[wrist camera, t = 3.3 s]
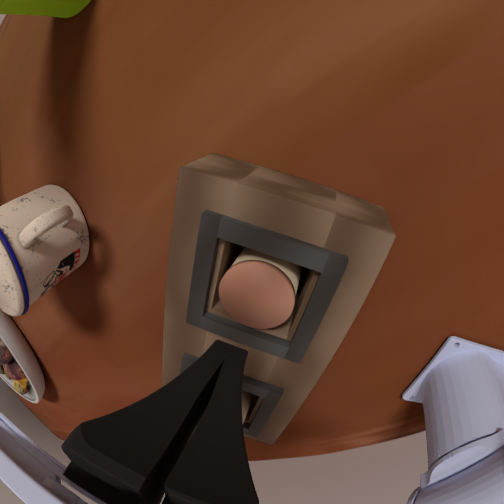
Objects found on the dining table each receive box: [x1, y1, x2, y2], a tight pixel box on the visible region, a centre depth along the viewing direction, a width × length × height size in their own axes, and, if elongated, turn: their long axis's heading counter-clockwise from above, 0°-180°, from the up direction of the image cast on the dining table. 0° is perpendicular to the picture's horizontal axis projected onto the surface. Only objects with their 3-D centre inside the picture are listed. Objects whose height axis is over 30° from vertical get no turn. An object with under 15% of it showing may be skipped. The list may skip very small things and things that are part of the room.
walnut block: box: [162, 153, 396, 445], centre depth 21 cm, size 11×22×5 cm, turn 166°
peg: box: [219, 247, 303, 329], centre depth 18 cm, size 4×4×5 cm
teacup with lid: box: [0, 185, 90, 316], centre depth 20 cm, size 12×9×12 cm
